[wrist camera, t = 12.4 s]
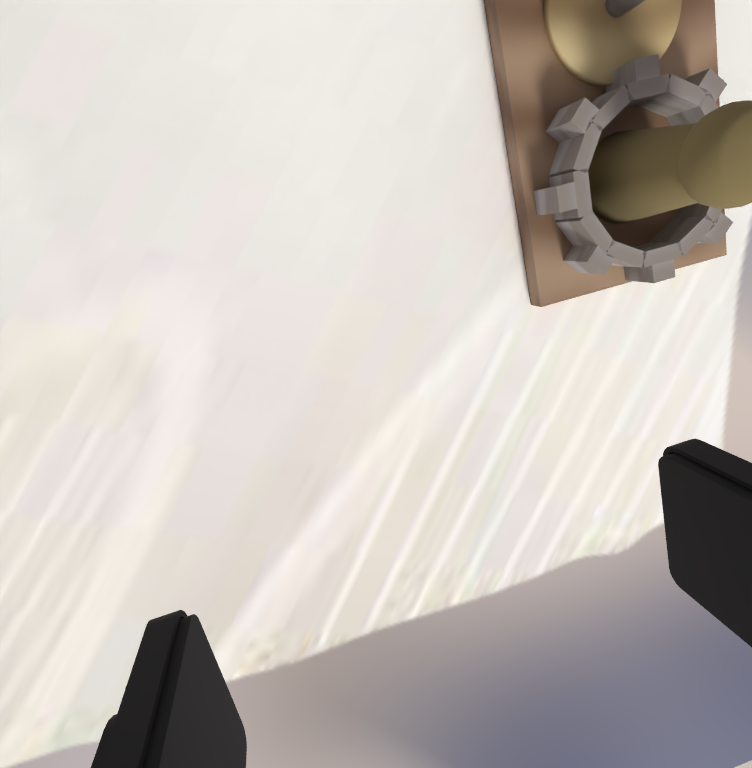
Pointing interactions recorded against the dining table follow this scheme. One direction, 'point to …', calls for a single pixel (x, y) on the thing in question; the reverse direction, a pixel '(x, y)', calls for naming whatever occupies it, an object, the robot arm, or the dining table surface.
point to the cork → (674, 166)
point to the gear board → (536, 149)
